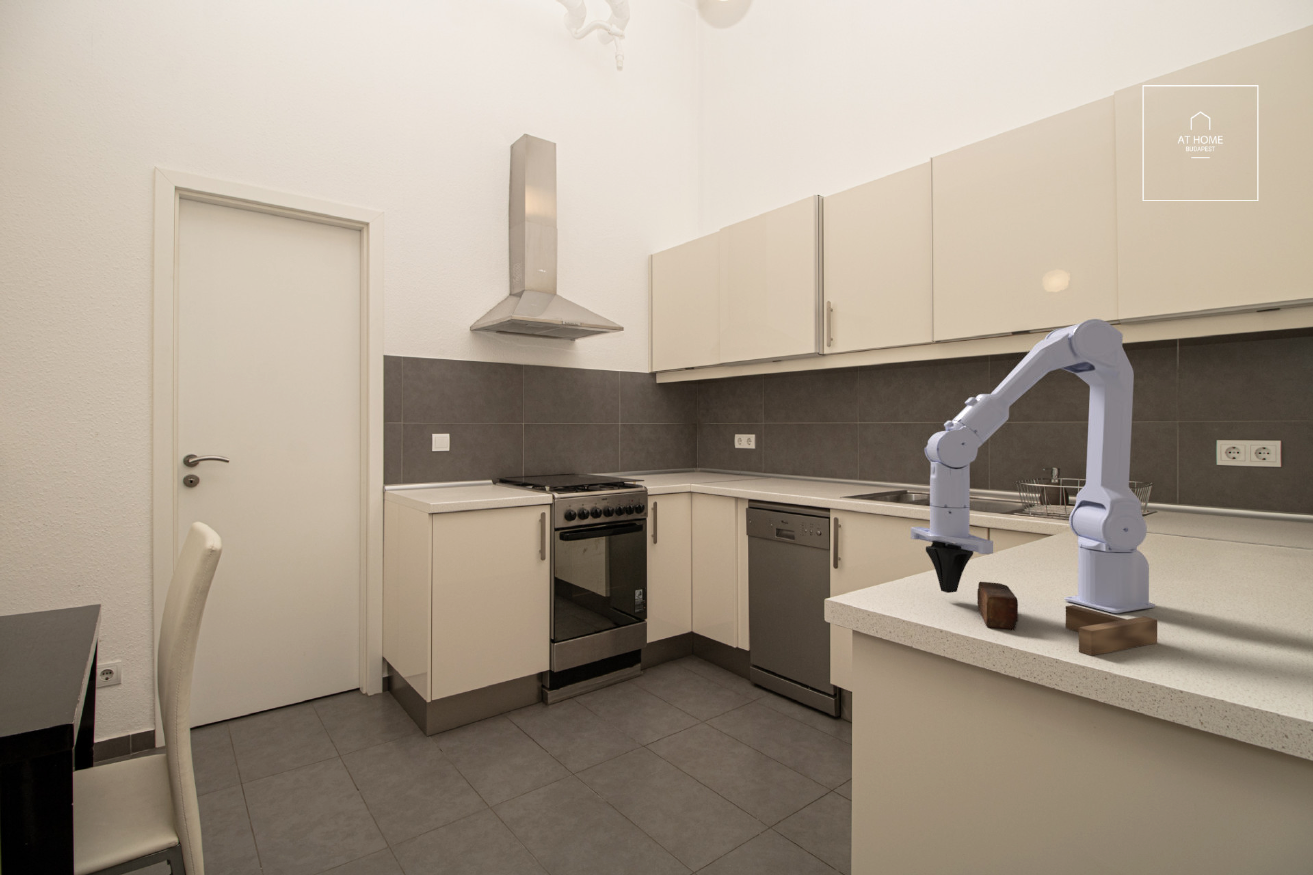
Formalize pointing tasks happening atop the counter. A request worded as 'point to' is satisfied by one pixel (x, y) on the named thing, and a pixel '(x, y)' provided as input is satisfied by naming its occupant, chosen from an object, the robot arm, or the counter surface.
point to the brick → (997, 605)
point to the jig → (1109, 630)
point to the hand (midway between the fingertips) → (948, 591)
